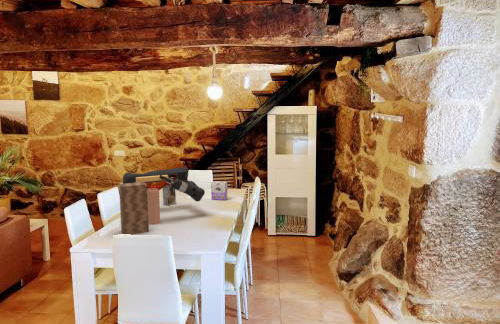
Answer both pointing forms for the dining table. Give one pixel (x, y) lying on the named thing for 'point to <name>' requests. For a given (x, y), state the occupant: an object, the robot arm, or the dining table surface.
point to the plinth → (134, 208)
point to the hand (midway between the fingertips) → (159, 176)
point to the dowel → (149, 178)
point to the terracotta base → (153, 206)
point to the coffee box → (169, 195)
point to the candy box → (219, 190)
